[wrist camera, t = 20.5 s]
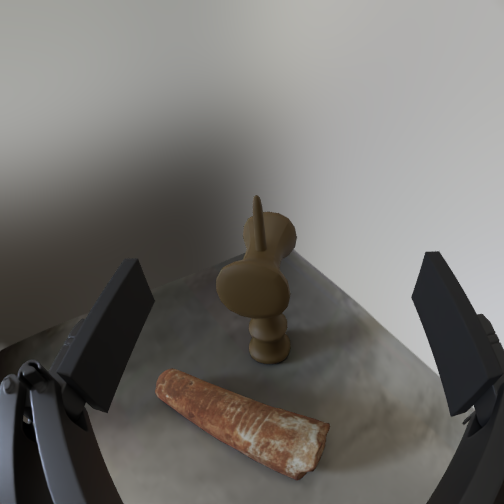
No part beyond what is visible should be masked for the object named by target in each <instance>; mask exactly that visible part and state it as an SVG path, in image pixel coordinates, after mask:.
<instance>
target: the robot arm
mask: <svg viewBox="0 0 504 504" xmlns="http://www.w3.org/2000/svg"><path fill="white" fill-rule="evenodd" d="M412 300H413V302H414V305H415V307H416V310H417V312H418V315H419V317H420V320H421V322H422V325H423V328H424V330H425V333H426V336H427V338H428V341H429V344H430V347H431V350H432V353H433V356H434V358H435V362H436V365H437V368H438V371H439V375H440V378H441V381H442V385H443V388H444V392H445V395H446V399H447V403H448V407H449V411H450V415H451V417H452V416H455V415H458V414H461V413H465V412H467V411H468V410H469V409H470V408H471V407H472V406H473V405H474V408H475V411H474V412H473V413H472V414H471V415H470V416H468V417H467V418H466V419H465V420H464V422H463V423H462V424H466V423H467V422H468V421H469V420H470V421H469V423H468V425H467V428H466V430H465V433H464V435H463V437H462V440H461V442H460V444H459V446H458V448H457V450H456V452H455V455H454V457H453V459H452V460H451V462H450V464H449V466H448V468H447V470H446V472H445V474H444V475H443V477H442V479H441V481H440V482H439V484H438V486H437V487H436V489H435V491H434V492H433V494H432V496H431V497H430V499H429V500H428V502H427V503H426V504H504V349H503V347H502V345H501V343H499V339H498V337H497V335H496V334H495V331H494V329H493V327H492V325H491V323H490V321H489V320H488V319H487V318H486V317H485V316H484V315H483V314H478V315H477V314H476V312H475V310H474V308H473V307H472V305H471V303H470V301H469V299H468V298H467V296H466V294H465V292H464V291H463V289H462V287H461V286H460V284H459V282H458V280H457V279H456V277H455V275H454V274H453V272H452V271H451V269H450V268H449V266H448V264H447V263H446V261H445V260H444V258H443V257H442V255H441V254H440V252H438V251H437V252H425V256H424V259H423V263H422V266H421V269H420V273H419V276H418V279H417V282H416V285H415V288H414V291H413V294H412ZM154 302H155V300H154V298H153V295H152V293H151V291H150V288H149V286H148V283H147V281H146V278H145V276H144V274H143V271H142V268H141V265H140V263H139V260H138V259H124V261H123V262H122V263H121V265H120V266H119V268H118V269H117V271H116V272H115V274H114V275H113V277H112V278H111V280H110V281H109V283H108V284H107V286H106V287H105V289H104V290H103V292H102V293H101V295H100V297H99V298H98V300H97V301H96V303H95V304H94V306H93V308H92V309H91V311H90V312H89V314H88V316H87V317H86V319H81V320H80V321H79V322H78V323H77V324H76V325H75V326H74V327H73V329H72V331H71V332H70V334H69V337H68V338H67V339H66V341H65V343H64V345H63V346H62V348H61V350H60V351H59V353H58V355H57V357H56V359H55V360H54V362H53V364H52V366H51V368H50V370H49V371H47V370H46V369H45V368H44V367H43V366H42V365H41V364H40V363H39V362H38V361H37V360H33V359H32V360H29V361H27V362H26V363H24V364H23V365H22V367H21V368H20V370H19V372H18V377H17V376H16V375H15V374H10V375H8V376H7V377H5V378H4V380H3V381H2V383H1V386H0V504H123V502H122V500H121V498H120V496H119V494H118V492H117V489H116V487H115V485H114V483H113V481H112V478H111V476H110V474H109V472H108V469H107V467H106V464H105V462H104V459H103V457H102V454H101V451H100V449H99V446H98V443H97V440H96V437H95V435H94V432H93V428H92V425H91V422H90V419H89V416H88V412H87V410H86V408H85V407H84V406H85V403H86V402H87V403H88V404H89V405H90V406H91V407H92V408H93V409H96V410H99V411H102V412H106V413H108V410H109V408H110V405H111V402H112V400H113V397H114V395H115V392H116V390H117V387H118V385H119V382H120V380H121V377H122V375H123V372H124V370H125V367H126V365H127V362H128V360H129V358H130V355H131V353H132V351H133V348H134V346H135V344H136V341H137V339H138V337H139V335H140V332H141V330H142V328H143V326H144V324H145V321H146V319H147V317H148V315H149V313H150V310H151V308H152V306H153V304H154ZM23 415H24V416H25V417H27V418H28V423H25V422H24V421H23Z"/></svg>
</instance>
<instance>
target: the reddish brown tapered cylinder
mask: <svg viewBox="0 0 504 504" xmlns="http://www.w3.org/2000/svg"><path fill="white" fill-rule="evenodd" d="M155 393H156V395H157V396H158V397H159V398H160V399H161V400H162V401H164V402H165V403H167V404H168V405H169V406H171V407H172V408H173V409H175V410H176V411H177V412H179V413H180V414H181V415H183V416H184V417H186V418H187V419H188V420H190V421H191V422H193V423H194V424H196V425H197V426H199V427H200V428H201V429H203V430H204V431H206V432H207V433H209V434H211V435H212V436H214V437H215V438H217V439H218V440H220V441H222V442H224V443H225V444H227V445H229V446H232V447H233V448H235V449H237V450H238V451H240V452H241V453H243V454H245V455H247V456H248V457H250V458H251V459H253V460H255V461H257V462H259V463H261V464H263V465H265V466H267V467H269V468H271V469H273V470H275V471H277V472H279V473H281V474H284V475H286V476H288V477H290V478H293V479H295V480H299V479H301V478H302V477H303V476H304V475H305V474H306V473H307V472H310V471H314V469H315V468H316V466H317V464H318V462H319V460H320V458H321V455H322V452H323V450H324V447H325V442H326V435H327V433H328V431H329V428H330V424H329V423H324V422H322V421H319V420H316V419H313V418H310V417H306V416H303V415H299V414H296V413H293V412H289V411H286V410H283V409H281V408H274V407H271V406H268V405H266V404H263V403H260V402H257V401H255V400H253V399H250V398H247V397H244V396H241V395H239V394H236V393H234V392H231V391H229V390H226V389H223V388H221V387H218V386H216V385H213V384H210V383H208V382H205V381H203V380H201V379H199V378H196V377H194V376H191V375H189V374H186V373H184V372H181V371H179V370H176V369H168V370H166V371H164V372H163V373H162V374H161V375H160V376H159V378H158V380H157V384H156V390H155Z"/></svg>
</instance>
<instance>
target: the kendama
mask: <svg viewBox="0 0 504 504" xmlns="http://www.w3.org/2000/svg"><path fill="white" fill-rule="evenodd" d="M243 239H244V242H245V245H246V248H247V251H246V254H245V256H244V259H243V260H240V261H236V262H234V263H231V264H229V265H227V266H225V267H223V268H222V269H221V271H220V273H219V275H218V277H217V279H216V286H217V293H218V295H219V297H220V300H221V302H222V303H223V304H224V305H225V306H226V307H227V308H228V309H229V310H231V311H233V312H235V313H237V314H239V315H241V316H244V317H249V318H252V319H251V321H250V323H249V332H250V334H251V336H252V337H253V338H252V340H251V342H250V344H249V352H250V354H251V356H252V358H253V359H255V360H256V361H257V362H260V363H264V364H276V363H278V362H281V361H283V360H284V359H285V358H286V357H287V356H288V354H289V351H290V340H289V338H288V336H287V335H286V334H285V333H286V330H287V320H286V318H285V316H284V315H283V314H282V312H283V311H284V310H285V309H286V308H287V307H288V304H289V299H290V295H291V293H290V289H289V285H288V281H287V279H286V278H285V277H284V275H283V274H282V273H281V272H280V263H281V260H282V259H283V258H285V257H287V256H288V255H289V254H290V253H291V252H292V250H293V249H294V248H295V244H296V239H297V236H296V231H295V227H294V226H293V224H292V223H291V221H290V220H289V219H288V218H287V217H285V216H283V215H281V214H279V213H272V212H263V210H262V204H261V200H260V198H259V196H257V195H256V196H255V197H254V199H253V216H252V217H250V218H249V219H248V220H247V222H246V224H245V226H244V232H243Z"/></svg>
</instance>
